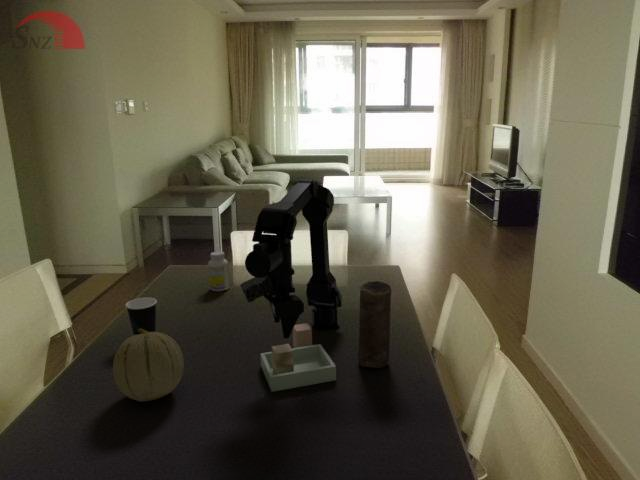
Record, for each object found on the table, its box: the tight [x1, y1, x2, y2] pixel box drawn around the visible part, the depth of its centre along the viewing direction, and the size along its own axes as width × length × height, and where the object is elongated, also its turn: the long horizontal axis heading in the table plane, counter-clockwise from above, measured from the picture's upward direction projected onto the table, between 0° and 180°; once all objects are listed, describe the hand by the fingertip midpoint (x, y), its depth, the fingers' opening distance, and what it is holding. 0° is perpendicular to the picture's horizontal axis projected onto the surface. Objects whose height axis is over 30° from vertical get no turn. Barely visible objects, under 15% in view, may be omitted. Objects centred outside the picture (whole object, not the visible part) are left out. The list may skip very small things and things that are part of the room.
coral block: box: [292, 322, 313, 348], centre depth 133 cm, size 4×4×6 cm
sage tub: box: [260, 343, 337, 393], centre depth 121 cm, size 15×12×4 cm
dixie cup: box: [125, 296, 158, 336], centre depth 139 cm, size 8×8×11 cm
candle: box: [357, 280, 392, 370], centre depth 122 cm, size 8×7×20 cm
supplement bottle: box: [208, 251, 231, 292], centre depth 178 cm, size 7×7×13 cm
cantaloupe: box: [112, 329, 185, 403], centre depth 111 cm, size 15×15×15 cm
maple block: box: [271, 343, 294, 375], centre depth 119 cm, size 4×4×6 cm
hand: (281, 329), depth 117 cm, fingers open, 9 cm apart
